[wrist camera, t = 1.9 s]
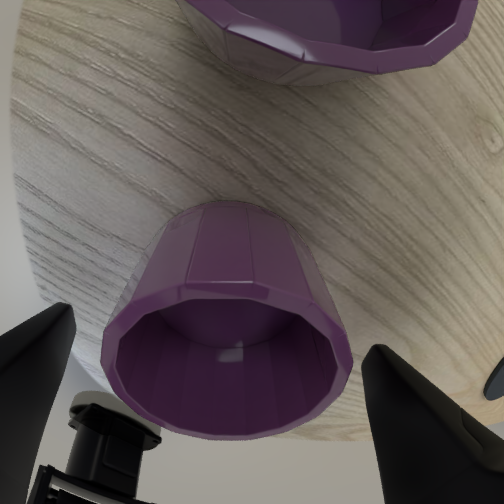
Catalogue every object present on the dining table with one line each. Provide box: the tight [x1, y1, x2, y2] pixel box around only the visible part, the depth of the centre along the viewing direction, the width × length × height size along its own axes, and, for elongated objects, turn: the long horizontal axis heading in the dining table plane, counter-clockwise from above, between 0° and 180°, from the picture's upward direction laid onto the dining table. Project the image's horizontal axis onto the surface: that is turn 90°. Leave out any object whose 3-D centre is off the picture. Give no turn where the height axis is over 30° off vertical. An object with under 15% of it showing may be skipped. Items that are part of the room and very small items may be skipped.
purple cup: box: [100, 201, 353, 441], centre depth 8 cm, size 6×6×4 cm
